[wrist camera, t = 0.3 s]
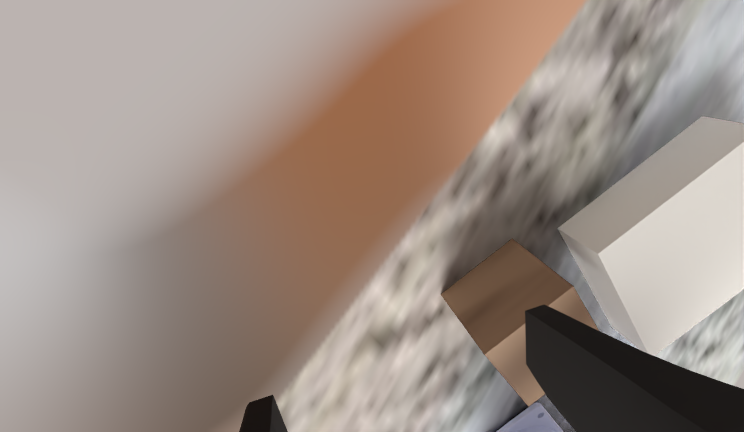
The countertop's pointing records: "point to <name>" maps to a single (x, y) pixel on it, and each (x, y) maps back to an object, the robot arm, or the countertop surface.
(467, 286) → the walnut cube
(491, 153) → the countertop surface
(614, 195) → the cream plinth
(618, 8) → the countertop surface
